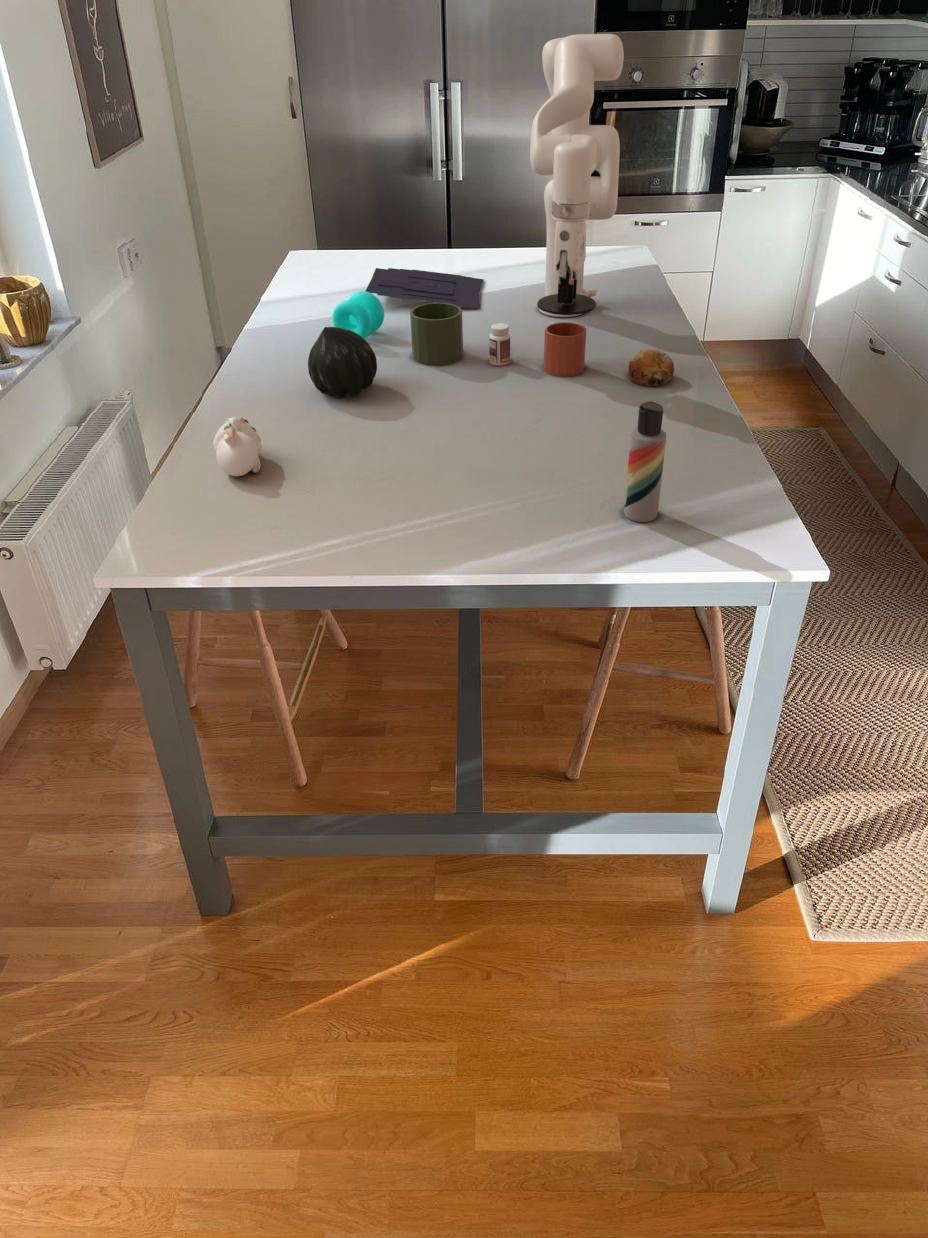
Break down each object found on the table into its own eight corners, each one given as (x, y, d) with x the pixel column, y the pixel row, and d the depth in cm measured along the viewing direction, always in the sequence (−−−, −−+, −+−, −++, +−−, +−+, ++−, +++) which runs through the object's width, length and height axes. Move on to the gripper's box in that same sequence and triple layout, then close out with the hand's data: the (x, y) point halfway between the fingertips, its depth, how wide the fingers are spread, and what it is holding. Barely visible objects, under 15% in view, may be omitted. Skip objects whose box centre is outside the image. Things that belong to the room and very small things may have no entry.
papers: (376, 275, 268) (377, 262, 265) (482, 288, 268) (484, 275, 266) (363, 304, 248) (363, 290, 246) (477, 318, 248) (479, 304, 246)
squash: (400, 360, 206) (354, 303, 203) (366, 389, 196) (317, 330, 192) (362, 393, 216) (317, 339, 212) (327, 422, 206) (280, 366, 202)
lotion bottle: (620, 506, 165) (629, 398, 153) (653, 504, 166) (664, 396, 154) (627, 523, 161) (638, 413, 149) (661, 521, 161) (674, 411, 149)
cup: (566, 357, 220) (568, 319, 215) (592, 369, 214) (594, 330, 209) (535, 367, 216) (536, 328, 210) (561, 379, 210) (563, 339, 204)
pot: (444, 342, 229) (442, 299, 223) (472, 357, 221) (471, 312, 215) (403, 354, 224) (400, 309, 218) (431, 369, 216) (428, 323, 210)
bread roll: (673, 390, 213) (679, 353, 211) (668, 388, 203) (674, 349, 201) (629, 385, 215) (634, 349, 214) (622, 382, 206) (628, 344, 204)
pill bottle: (510, 358, 220) (511, 322, 215) (509, 366, 217) (509, 329, 212) (490, 357, 221) (490, 322, 216) (488, 365, 217) (488, 329, 212)
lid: (569, 294, 214) (571, 266, 210) (608, 309, 205) (610, 280, 202) (525, 306, 208) (525, 277, 204) (563, 321, 199) (564, 292, 196)
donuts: (332, 341, 231) (328, 300, 225) (351, 327, 239) (347, 287, 233) (369, 346, 228) (366, 304, 222) (387, 332, 236) (384, 291, 230)
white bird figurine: (237, 437, 169) (233, 395, 179) (202, 462, 171) (199, 418, 181) (272, 472, 175) (265, 429, 186) (237, 496, 177) (233, 452, 188)
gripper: (580, 220, 188) (575, 314, 198) (596, 201, 200) (591, 290, 211) (543, 218, 189) (540, 311, 200) (561, 199, 202) (558, 287, 213)
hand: (566, 299), depth 205 cm, fingers closed on lid, 2 cm apart
